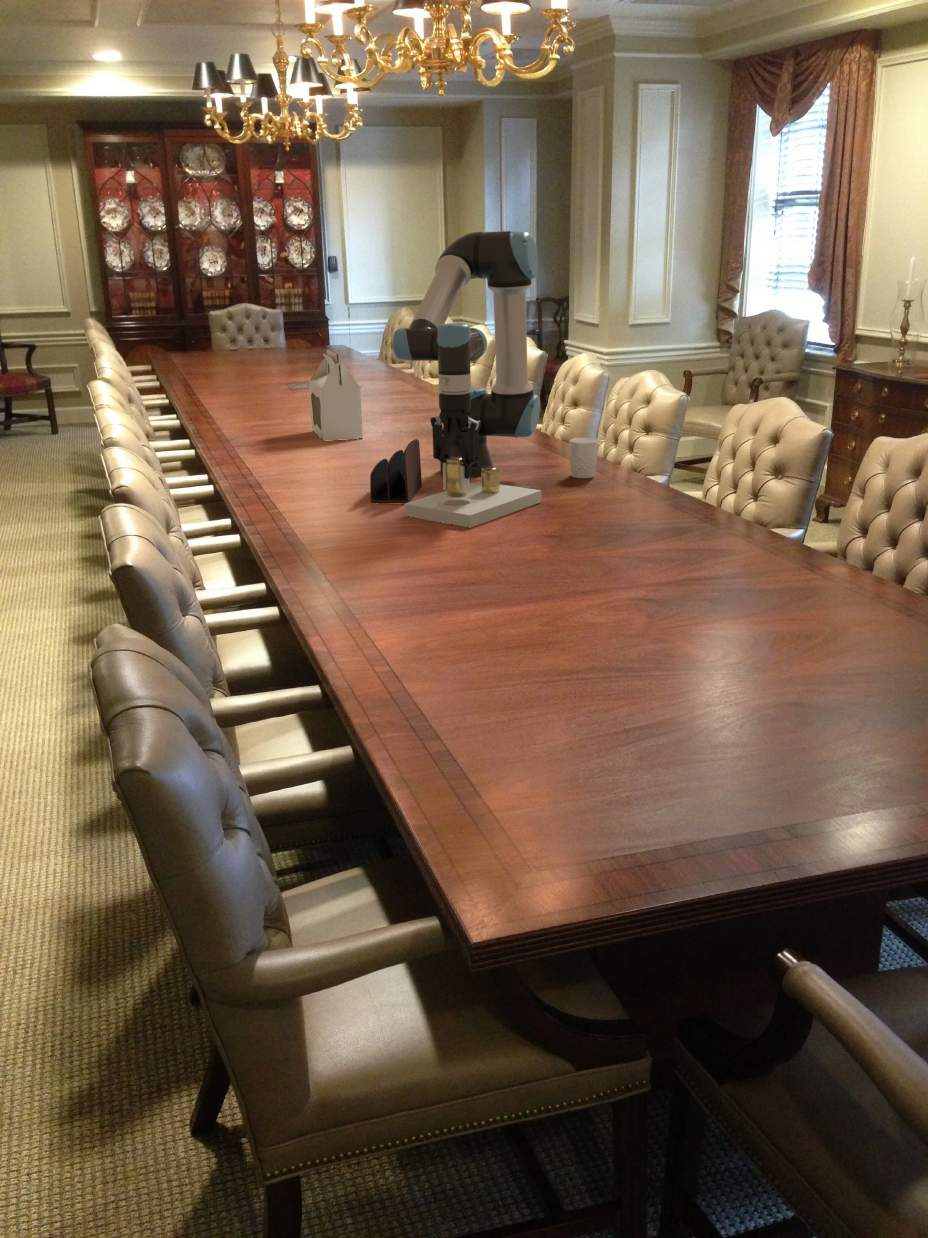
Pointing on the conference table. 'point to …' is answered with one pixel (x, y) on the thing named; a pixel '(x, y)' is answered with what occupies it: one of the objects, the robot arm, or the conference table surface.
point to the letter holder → (397, 476)
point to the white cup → (583, 457)
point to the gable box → (335, 401)
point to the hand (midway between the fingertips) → (456, 489)
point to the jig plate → (472, 505)
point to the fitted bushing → (490, 479)
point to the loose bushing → (454, 477)
